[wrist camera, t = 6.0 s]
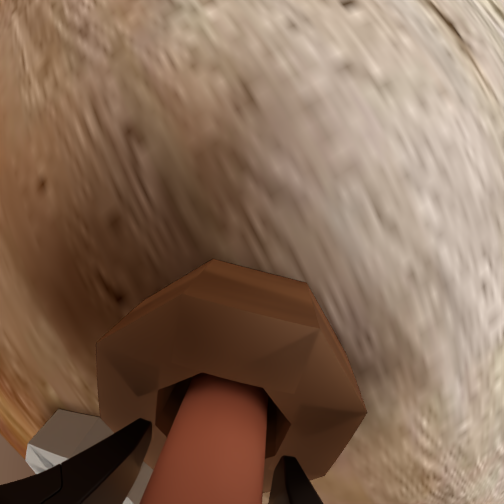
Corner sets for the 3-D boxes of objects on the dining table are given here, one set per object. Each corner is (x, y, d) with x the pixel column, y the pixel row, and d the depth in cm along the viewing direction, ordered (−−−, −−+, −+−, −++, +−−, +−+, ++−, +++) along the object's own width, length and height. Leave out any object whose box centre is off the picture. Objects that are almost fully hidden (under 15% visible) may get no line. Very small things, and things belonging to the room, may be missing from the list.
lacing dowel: (259, 395, 13) (241, 574, 4) (197, 380, 13) (131, 547, 4) (277, 344, 12) (274, 548, 4) (208, 326, 12) (123, 513, 4)
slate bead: (180, 500, 16) (167, 540, 12) (87, 479, 17) (68, 509, 13) (134, 422, 14) (107, 469, 10) (35, 402, 15) (5, 432, 11)
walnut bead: (299, 446, 13) (301, 504, 10) (135, 404, 14) (105, 453, 10) (367, 297, 11) (402, 344, 8) (151, 242, 12) (99, 266, 8)
